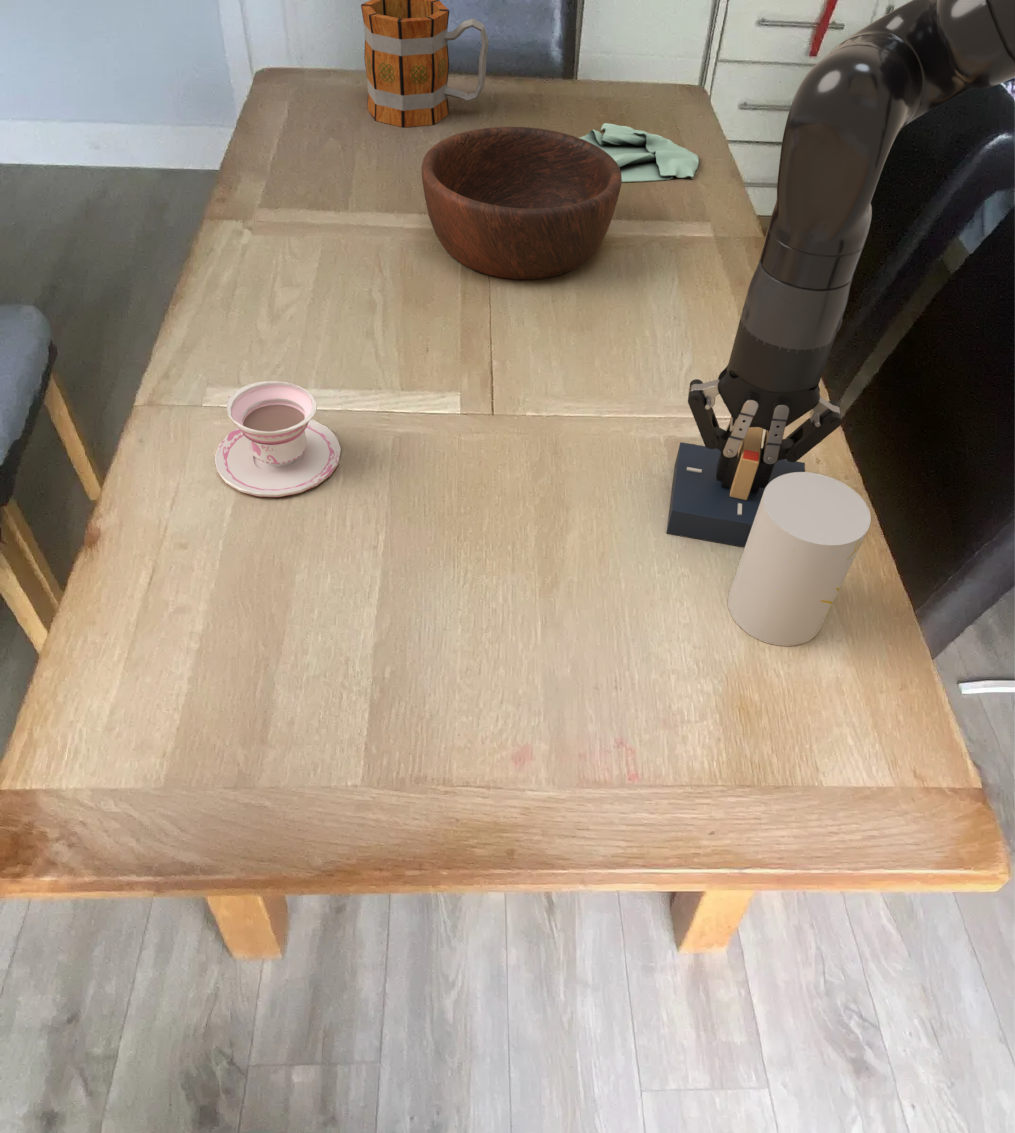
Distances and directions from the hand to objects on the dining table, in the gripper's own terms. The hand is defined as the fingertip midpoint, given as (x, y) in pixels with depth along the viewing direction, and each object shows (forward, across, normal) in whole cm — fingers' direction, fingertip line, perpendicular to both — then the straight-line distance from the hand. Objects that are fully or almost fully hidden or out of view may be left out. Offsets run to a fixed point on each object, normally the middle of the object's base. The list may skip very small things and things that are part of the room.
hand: (739, 483), depth 84 cm
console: (+3, 0, 0) cm, 3 cm away
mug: (+3, +53, -84) cm, 99 cm away
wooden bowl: (+3, +30, -45) cm, 54 cm away
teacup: (+3, +44, +4) cm, 44 cm away
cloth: (+3, +19, -78) cm, 80 cm away
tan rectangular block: (0, 0, -1) cm, 1 cm away
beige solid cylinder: (+3, -4, +12) cm, 13 cm away
